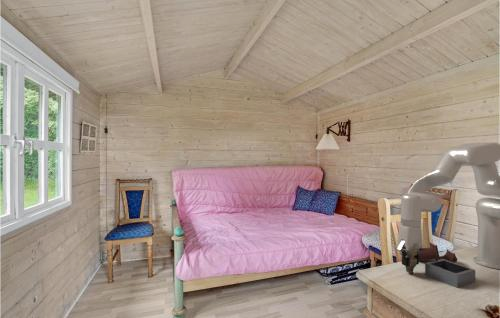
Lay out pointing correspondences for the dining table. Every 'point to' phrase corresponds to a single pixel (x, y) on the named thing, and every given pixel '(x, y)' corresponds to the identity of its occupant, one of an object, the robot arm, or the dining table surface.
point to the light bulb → (412, 259)
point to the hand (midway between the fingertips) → (410, 264)
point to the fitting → (450, 273)
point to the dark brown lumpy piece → (436, 254)
